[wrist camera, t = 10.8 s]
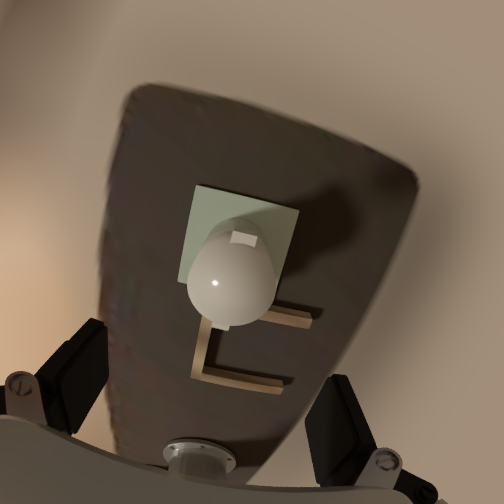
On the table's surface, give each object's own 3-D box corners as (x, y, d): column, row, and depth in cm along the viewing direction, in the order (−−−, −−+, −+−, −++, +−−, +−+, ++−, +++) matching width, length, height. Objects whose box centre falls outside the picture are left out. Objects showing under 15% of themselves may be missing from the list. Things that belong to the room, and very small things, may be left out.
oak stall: (279, 386, 33) (280, 394, 32) (192, 370, 32) (190, 377, 31) (309, 312, 30) (312, 319, 29) (208, 290, 29) (206, 296, 28)
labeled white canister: (276, 218, 27) (290, 245, 18) (253, 297, 29) (256, 349, 20) (214, 203, 26) (198, 223, 18) (196, 283, 29) (178, 332, 20)
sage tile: (271, 302, 30) (271, 303, 29) (178, 280, 29) (177, 281, 29) (298, 210, 27) (299, 210, 27) (197, 184, 26) (196, 185, 26)
